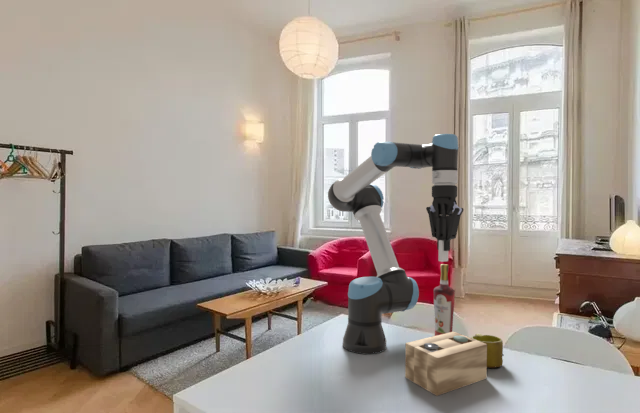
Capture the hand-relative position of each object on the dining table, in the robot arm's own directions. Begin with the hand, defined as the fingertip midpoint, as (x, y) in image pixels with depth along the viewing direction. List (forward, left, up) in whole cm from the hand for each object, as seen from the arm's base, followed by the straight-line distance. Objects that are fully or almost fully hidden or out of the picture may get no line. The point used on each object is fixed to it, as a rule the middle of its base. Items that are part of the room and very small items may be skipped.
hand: (443, 260), depth 120 cm
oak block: (+7, -6, -32) cm, 34 cm away
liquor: (-13, +15, -33) cm, 38 cm away
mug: (+5, +14, -33) cm, 36 cm away
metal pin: (+7, -12, -32) cm, 35 cm away
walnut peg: (+7, 0, -32) cm, 33 cm away
